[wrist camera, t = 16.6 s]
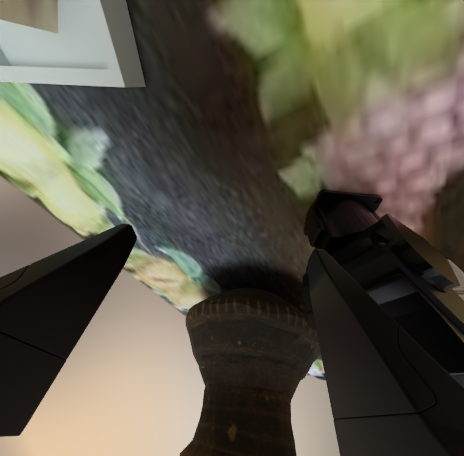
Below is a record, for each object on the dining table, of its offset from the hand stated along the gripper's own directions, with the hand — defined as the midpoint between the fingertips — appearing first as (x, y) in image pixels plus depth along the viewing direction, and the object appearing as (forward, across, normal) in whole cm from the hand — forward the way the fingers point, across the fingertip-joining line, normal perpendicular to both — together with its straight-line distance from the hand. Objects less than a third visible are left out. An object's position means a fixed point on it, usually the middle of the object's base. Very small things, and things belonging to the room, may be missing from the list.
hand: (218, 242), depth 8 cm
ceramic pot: (+13, -4, +29) cm, 32 cm away
